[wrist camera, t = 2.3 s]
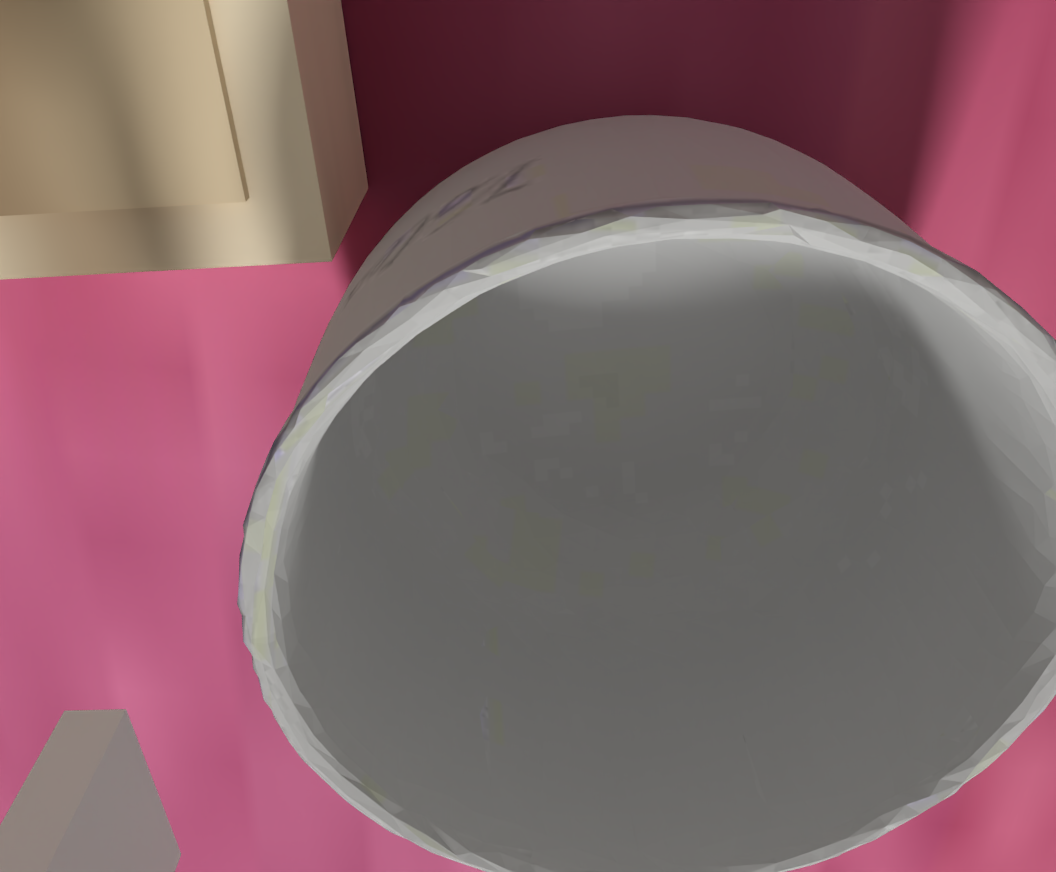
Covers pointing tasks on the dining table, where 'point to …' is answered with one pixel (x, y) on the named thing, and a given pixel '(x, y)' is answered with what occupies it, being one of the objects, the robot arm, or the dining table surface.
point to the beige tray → (174, 135)
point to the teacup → (657, 514)
